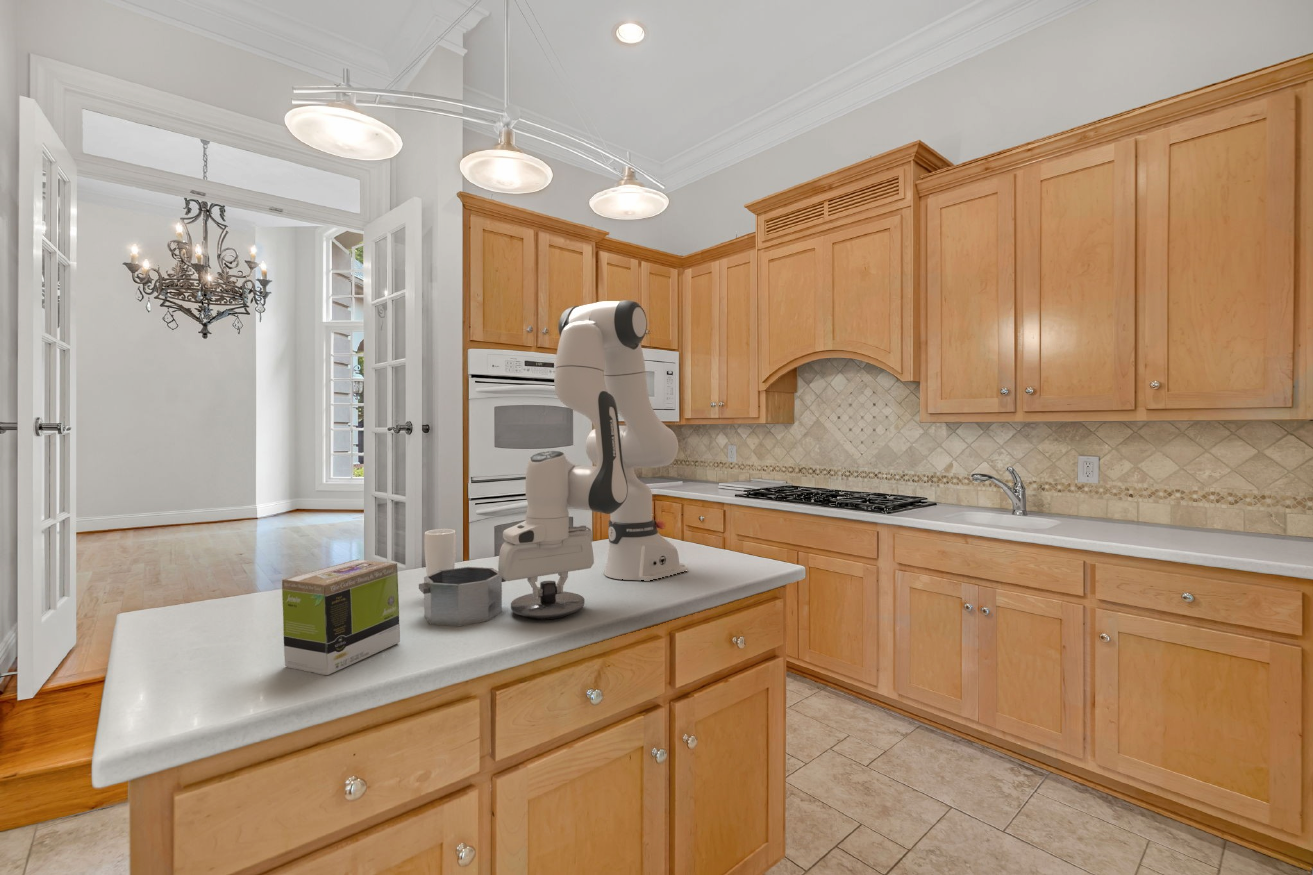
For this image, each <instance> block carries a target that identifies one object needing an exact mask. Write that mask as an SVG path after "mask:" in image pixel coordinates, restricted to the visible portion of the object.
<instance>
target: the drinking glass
mask: <svg viewBox="0 0 1313 875" xmlns="http://www.w3.org/2000/svg"><path fill="white" fill-rule="evenodd" d="M423 536H424V541H423V542H424V544H423V547H424V549H423V550H424V559H425V570H426V576H428V575H431V574H433V573H435V572H438V571H440V570H447V569H454V568H455V567H456V566H455V565H456V554H457V552H456V551H457V536H456V530H455V529H452V528H451V529H450V528H440V529H439V528H437V529H431V530H427V531H425V532H424V535H423Z"/></svg>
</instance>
